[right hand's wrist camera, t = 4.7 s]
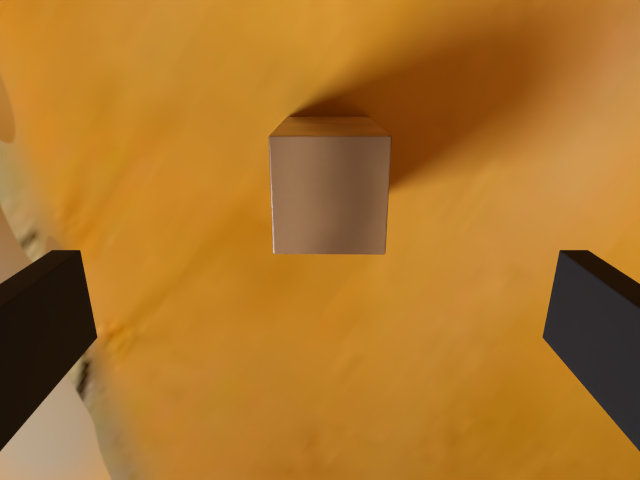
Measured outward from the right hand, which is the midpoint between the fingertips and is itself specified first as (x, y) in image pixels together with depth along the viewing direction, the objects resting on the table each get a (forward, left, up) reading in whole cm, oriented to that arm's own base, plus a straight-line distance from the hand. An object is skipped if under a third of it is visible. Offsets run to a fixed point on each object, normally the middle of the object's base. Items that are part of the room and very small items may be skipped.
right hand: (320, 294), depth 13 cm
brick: (0, 0, -21) cm, 21 cm away
